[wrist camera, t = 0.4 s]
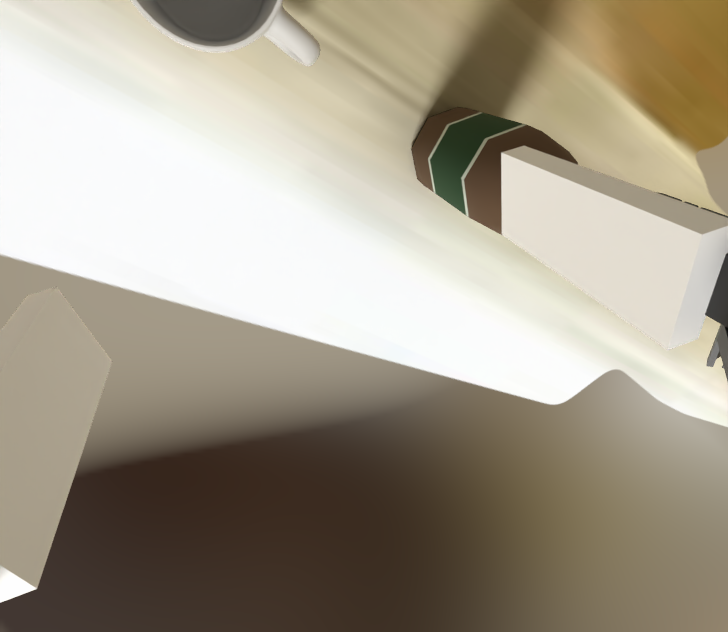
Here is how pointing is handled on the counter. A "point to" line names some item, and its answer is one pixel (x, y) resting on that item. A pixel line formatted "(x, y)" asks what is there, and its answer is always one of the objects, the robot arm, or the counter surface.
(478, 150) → the beer bottle
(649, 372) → the counter surface
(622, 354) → the counter surface
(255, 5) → the mug
